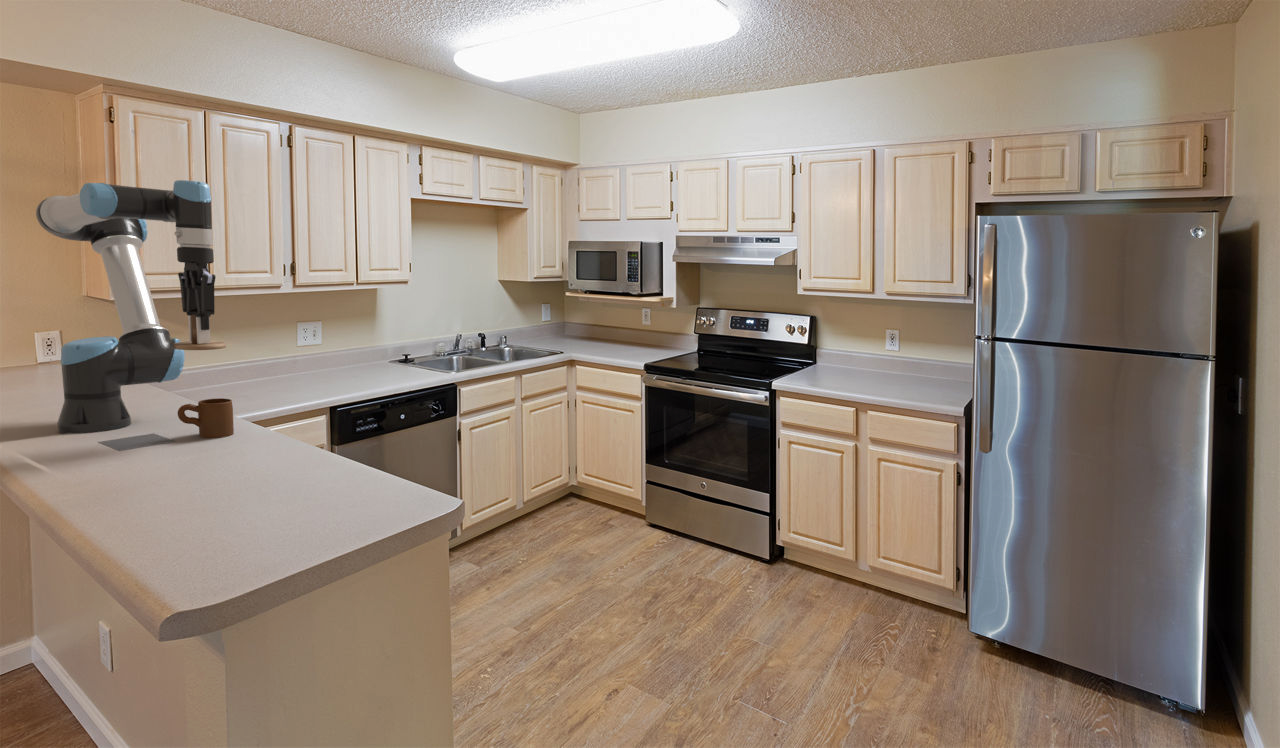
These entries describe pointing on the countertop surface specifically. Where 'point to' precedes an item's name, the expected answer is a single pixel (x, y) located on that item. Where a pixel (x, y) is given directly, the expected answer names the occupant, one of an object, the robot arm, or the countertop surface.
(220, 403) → the mug
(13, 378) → the countertop surface
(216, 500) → the countertop surface
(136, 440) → the mat
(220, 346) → the lid
